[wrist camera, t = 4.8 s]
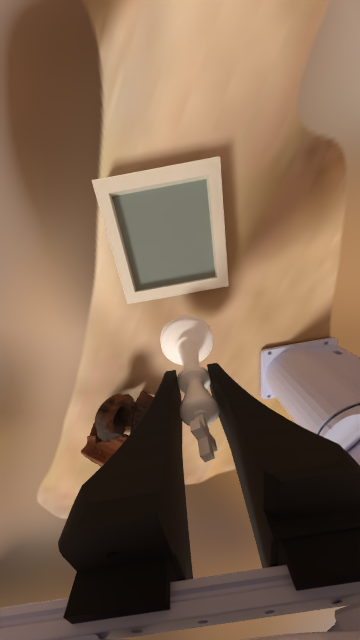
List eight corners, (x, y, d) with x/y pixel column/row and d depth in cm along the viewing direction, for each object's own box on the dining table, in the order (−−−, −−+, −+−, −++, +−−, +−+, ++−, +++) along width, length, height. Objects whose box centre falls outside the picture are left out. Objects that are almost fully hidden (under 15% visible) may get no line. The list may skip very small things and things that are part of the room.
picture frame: (213, 168, 15) (220, 156, 13) (222, 283, 18) (228, 286, 17) (101, 189, 15) (91, 180, 13) (131, 299, 19) (127, 304, 17)
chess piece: (197, 304, 15) (241, 389, 6) (221, 347, 17) (285, 467, 7) (150, 331, 16) (117, 445, 6) (177, 369, 17) (183, 505, 8)
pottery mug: (178, 423, 26) (153, 495, 20) (129, 407, 30) (96, 464, 24) (153, 377, 19) (105, 466, 13) (94, 364, 23) (36, 430, 17)
